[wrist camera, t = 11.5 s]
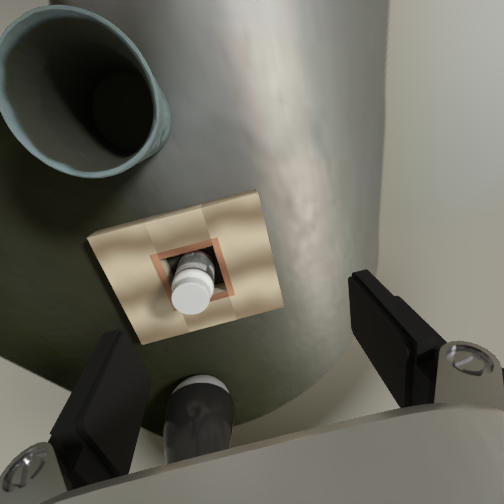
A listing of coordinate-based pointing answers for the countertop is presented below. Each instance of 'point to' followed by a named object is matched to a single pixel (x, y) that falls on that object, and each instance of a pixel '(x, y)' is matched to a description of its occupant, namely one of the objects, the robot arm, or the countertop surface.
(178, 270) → the pill bottle
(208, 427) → the dark rounded oval
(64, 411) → the robot arm
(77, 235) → the countertop surface
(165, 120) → the blue green cup
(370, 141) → the countertop surface
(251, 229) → the socket plate
